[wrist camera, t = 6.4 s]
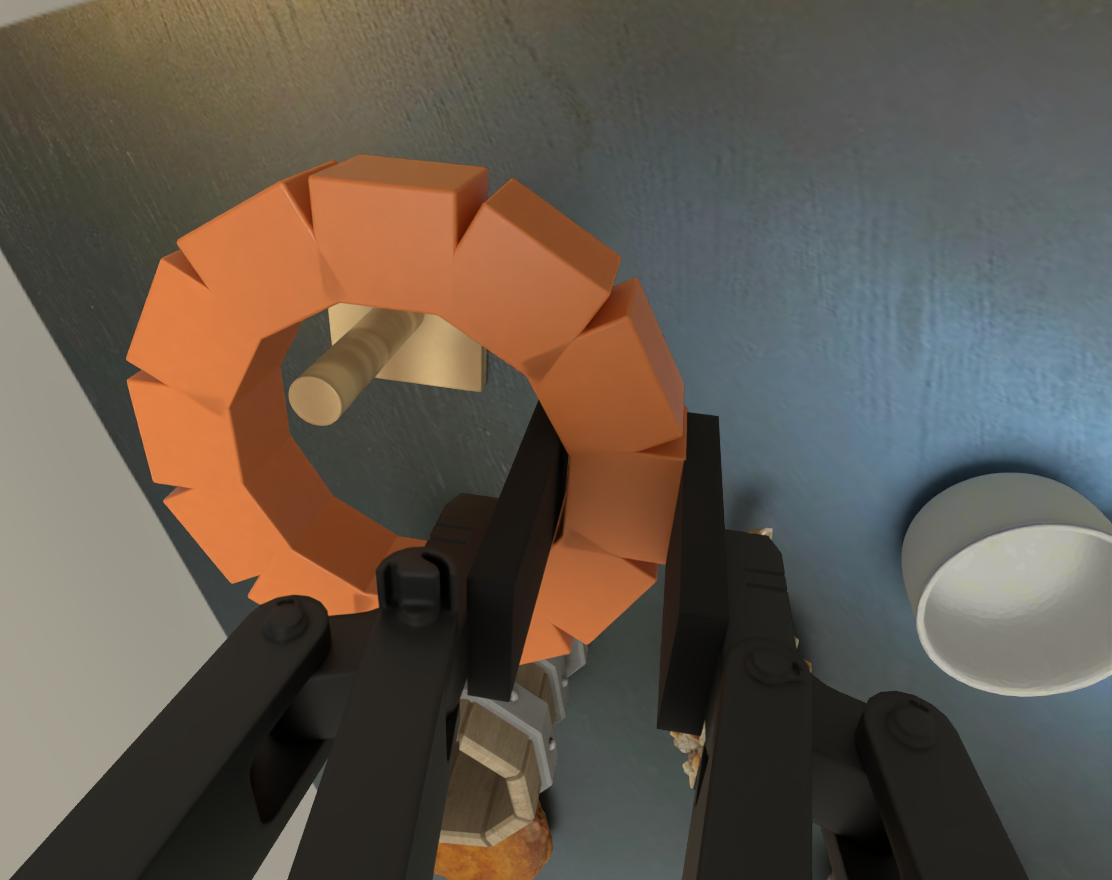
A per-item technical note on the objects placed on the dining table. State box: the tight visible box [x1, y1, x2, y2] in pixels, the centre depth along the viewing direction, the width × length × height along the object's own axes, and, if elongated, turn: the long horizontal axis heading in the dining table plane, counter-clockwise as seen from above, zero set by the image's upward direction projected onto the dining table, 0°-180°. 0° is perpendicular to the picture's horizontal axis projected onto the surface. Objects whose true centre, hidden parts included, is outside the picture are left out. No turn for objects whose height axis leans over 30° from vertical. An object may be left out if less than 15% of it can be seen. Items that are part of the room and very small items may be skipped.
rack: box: [289, 303, 487, 426], centre depth 36 cm, size 9×9×12 cm
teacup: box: [901, 473, 1112, 696], centre depth 39 cm, size 14×11×8 cm
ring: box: [126, 155, 688, 665], centre depth 17 cm, size 12×12×2 cm
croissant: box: [434, 799, 553, 880], centre depth 62 cm, size 14×16×8 cm
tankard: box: [429, 537, 588, 847], centre depth 45 cm, size 20×13×15 cm, turn 8°
